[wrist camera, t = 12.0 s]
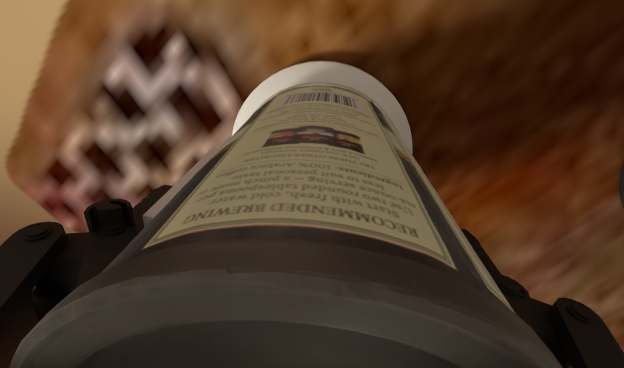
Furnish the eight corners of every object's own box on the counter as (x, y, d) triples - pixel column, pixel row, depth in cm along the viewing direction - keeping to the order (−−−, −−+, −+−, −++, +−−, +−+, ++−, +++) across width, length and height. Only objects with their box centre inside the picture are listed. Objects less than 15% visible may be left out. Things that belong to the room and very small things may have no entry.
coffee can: (282, 250, 21) (210, 559, 9) (206, 123, 17) (-136, 368, 5) (423, 207, 19) (600, 554, 6) (374, 47, 15) (610, 134, 2)
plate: (433, 76, 18) (439, 79, 16) (383, 232, 23) (385, 242, 22) (237, 46, 17) (231, 47, 16) (235, 210, 23) (231, 218, 22)
